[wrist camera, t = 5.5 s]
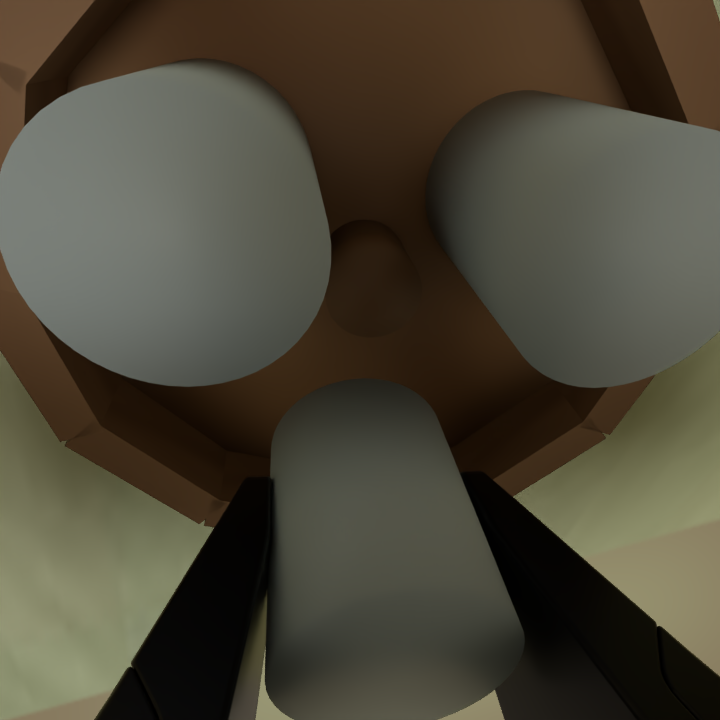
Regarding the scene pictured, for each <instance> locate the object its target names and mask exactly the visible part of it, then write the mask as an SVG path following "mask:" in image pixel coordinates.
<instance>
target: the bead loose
mask: <svg viewBox="0 0 720 720" xmlns="http://www.w3.org/2000/svg"><path fill="white" fill-rule="evenodd" d="M270 478H271V480H272V487H271V531H270V557H269V568H268V583H267V619H266V657H265V685H266V691H267V693H268V696H269V698H270V699H271V701H272V702H273V703H274V705H275V706H276V707H277V708H278V709H279V710H280V711H281V712H283V713H284V714H285V715H287V716H289V717H290V718H292V719H294V720H437V719H440V718H443V717H445V716H448V715H451V714H453V713H456V712H458V711H460V710H462V709H464V708H466V707H468V706H470V705H472V704H474V703H475V702H477V701H479V700H481V699H482V698H484V697H485V696H487V695H488V694H489V693H491V692H492V691H493V690H495V689H496V688H497V687H498V686H500V685H501V684H502V683H503V682H504V681H505V680H506V679H507V678H508V677H509V676H510V674H511V673H512V672H513V670H514V669H515V668H516V666H517V664H518V663H519V661H520V659H521V656H522V653H523V651H524V644H525V638H524V631H523V629H522V626H521V623H520V621H519V618H518V616H517V613H516V611H515V609H514V606H513V604H512V601H511V599H510V596H509V594H508V591H507V589H506V586H505V584H504V581H503V579H502V576H501V574H500V571H499V569H498V567H497V564H496V562H495V559H494V557H493V554H492V552H491V549H490V547H489V544H488V542H487V539H486V537H485V534H484V532H483V529H482V527H481V525H480V522H479V520H478V517H477V515H476V512H475V510H474V507H473V505H472V502H471V500H470V497H469V495H468V492H467V490H466V487H465V485H464V483H463V480H462V478H461V475H460V473H459V470H458V468H457V465H456V463H455V460H454V458H453V455H452V453H451V450H450V448H449V445H448V443H447V441H446V438H445V436H444V433H443V431H442V428H441V426H440V423H439V421H438V418H437V416H436V414H435V412H434V411H433V409H432V407H431V406H430V405H429V404H428V403H427V401H426V400H425V399H423V398H422V397H421V396H420V395H419V394H417V393H416V392H414V391H413V390H411V389H409V388H407V387H405V386H403V385H400V384H397V383H394V382H391V381H386V380H380V379H369V378H362V379H350V380H344V381H339V382H336V383H332V384H329V385H326V386H324V387H321V388H319V389H317V390H315V391H313V392H311V393H309V394H307V395H306V396H304V397H303V398H302V399H300V400H299V401H297V402H296V403H295V404H294V405H293V406H292V407H291V408H290V409H289V410H288V411H287V412H286V413H285V415H284V416H283V417H282V419H281V420H280V422H279V423H278V425H277V428H276V430H275V432H274V435H273V439H272V444H271V466H270Z"/></svg>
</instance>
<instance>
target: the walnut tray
mask: <svg viewBox="0 0 720 720" xmlns="http://www.w3.org/2000/svg"><path fill="white" fill-rule="evenodd" d="M194 58H207V59H216V60H222V61H226V62H229V63H233V64H236V65H239V66H241V67H243V68H245V69H247V70H249V71H252V72H253V73H255V74H256V75H258V76H260V77H261V78H263V79H264V80H266V81H267V82H268V83H269V84H270V85H272V86H273V87H274V88H275V89H276V90H277V91H278V92H279V93H280V94H281V95H282V96H283V97H284V98H285V99H286V100H287V102H288V103H289V105H290V106H291V107H292V109H293V110H294V111H295V113H296V115H297V117H298V118H299V120H300V122H301V124H302V126H303V129H304V131H305V133H306V136H307V139H308V143H309V146H310V150H311V154H312V158H313V162H314V167H315V171H316V175H317V179H318V183H319V187H320V192H321V196H322V200H323V204H324V208H325V213H326V217H327V221H328V226H329V233H330V240H331V268H330V275H329V282H328V286H327V289H326V293H325V296H324V299H323V302H322V304H321V306H320V309H319V311H318V313H317V315H316V317H315V318H314V320H313V322H312V323H311V325H310V327H309V328H308V330H307V331H306V332H305V333H304V335H303V336H302V337H301V338H300V339H299V341H298V342H297V343H296V344H295V345H294V346H293V347H292V348H291V349H289V350H288V351H287V352H286V353H285V354H284V355H283V356H281V357H280V358H278V359H277V360H276V361H274V362H273V363H271V364H270V365H268V366H266V367H264V368H262V369H261V370H259V371H257V372H255V373H252V374H250V375H247V376H245V377H242V378H240V379H236V380H232V381H229V382H225V383H220V384H214V385H207V386H191V387H183V386H167V385H160V384H154V383H148V382H144V381H140V380H137V379H133V378H129V377H127V376H124V375H121V374H118V373H116V372H113V371H111V370H109V369H106V368H104V367H102V366H100V365H98V364H96V363H94V362H92V361H91V360H89V359H87V358H86V357H84V356H83V355H81V354H79V353H78V352H76V351H75V350H73V349H72V348H71V347H69V346H68V345H67V344H65V343H64V342H63V341H62V340H60V339H59V338H58V337H57V336H56V335H55V334H54V333H53V332H51V331H50V330H49V329H48V328H47V327H46V326H45V325H44V324H43V323H42V322H41V320H40V319H39V318H38V317H37V316H36V315H35V313H34V312H33V311H32V310H31V309H30V308H29V306H28V305H27V303H26V302H25V300H24V299H23V297H22V296H21V294H20V293H19V291H18V290H17V288H16V286H15V284H14V282H13V280H12V278H11V276H10V274H9V272H8V270H7V267H6V264H5V262H4V259H3V256H2V253H1V250H0V351H1V352H2V354H3V355H4V357H5V358H6V360H7V361H8V363H9V364H10V366H11V367H12V369H13V370H14V372H15V373H16V375H17V377H18V378H19V380H20V381H21V383H22V384H23V386H24V387H25V389H26V390H27V392H28V393H29V395H30V396H31V398H32V399H33V401H34V402H35V404H36V405H37V407H38V409H39V410H40V412H41V413H42V415H43V416H44V418H45V419H46V421H47V422H48V424H49V425H50V427H51V428H52V430H53V431H54V433H55V434H56V436H57V438H58V439H59V441H60V442H61V441H66V440H67V442H66V444H65V446H66V447H68V448H69V449H71V450H73V451H75V452H76V453H78V454H80V455H82V456H83V457H85V458H87V459H88V460H90V461H92V462H94V463H95V464H97V465H99V466H100V467H102V468H104V469H106V470H107V471H109V472H111V473H112V474H114V475H116V476H118V477H119V478H121V479H123V480H124V481H126V482H128V483H130V484H131V485H133V486H135V487H136V488H138V489H140V490H142V491H143V492H145V493H147V494H149V495H150V496H152V497H154V498H155V499H157V500H159V501H161V502H162V503H164V504H166V505H167V506H169V507H171V508H173V509H174V510H176V511H178V512H179V513H181V514H183V515H185V516H186V517H188V518H190V519H191V520H193V521H195V522H197V523H198V524H200V523H201V522H203V521H204V520H205V524H204V526H210V527H215V526H216V524H217V523H218V521H219V519H220V518H221V516H222V514H223V513H224V511H225V510H226V508H227V506H228V505H229V503H230V502H231V500H232V498H233V497H234V495H235V493H236V492H237V490H238V489H239V487H240V485H241V484H242V482H243V481H244V479H245V478H247V477H249V476H269V477H270V466H271V444H272V439H273V435H274V432H275V430H276V428H277V425H278V423H279V422H280V420H281V419H282V417H283V416H284V415H285V413H286V412H287V411H288V410H289V409H290V408H291V407H292V406H293V405H294V404H295V403H296V402H297V401H299V400H300V399H302V398H303V397H304V396H306V395H307V394H309V393H311V392H313V391H315V390H317V389H319V388H321V387H324V386H326V385H329V384H332V383H336V382H339V381H344V380H350V379H362V378H369V379H380V380H386V381H391V382H394V383H397V384H400V385H403V386H405V387H407V388H409V389H411V390H413V391H414V392H416V393H417V394H419V395H420V396H421V397H422V398H423V399H425V400H426V401H427V403H428V404H429V405H430V406H431V407H432V409H433V411H434V412H435V414H436V416H437V418H438V421H439V423H440V426H441V428H442V431H443V433H444V436H445V438H446V441H447V443H448V445H449V448H450V450H451V453H452V455H453V458H454V460H455V463H456V465H457V468H458V470H459V473H460V472H463V471H482V472H484V473H486V474H487V475H488V476H489V477H490V478H492V479H493V480H494V481H495V482H496V483H497V484H499V485H500V486H501V487H502V488H503V489H504V490H505V491H507V492H508V493H509V494H510V495H511V496H512V497H513V496H514V495H516V494H518V493H519V492H521V491H522V490H524V489H526V488H527V487H529V486H530V485H532V484H534V483H535V482H537V481H538V480H540V479H542V478H543V477H545V476H546V475H548V474H550V473H551V472H553V471H554V470H556V469H558V468H559V467H561V466H562V465H564V464H566V463H567V462H569V461H570V460H572V459H574V458H575V457H577V456H578V455H580V454H582V453H583V452H585V451H586V450H588V449H590V448H591V447H593V446H595V445H596V444H598V443H599V442H601V441H603V440H604V439H606V438H605V436H604V435H603V434H602V433H605V434H609V435H610V434H611V433H612V431H613V430H614V429H615V428H616V426H617V425H618V424H619V422H620V421H621V420H622V418H623V417H624V416H625V414H626V413H627V412H628V410H629V409H630V408H631V406H632V405H633V404H634V402H635V401H636V400H637V398H638V397H639V396H640V395H641V393H642V392H643V391H644V389H645V388H646V387H647V385H648V384H649V383H650V381H651V380H652V379H653V377H654V376H655V375H656V374H655V375H653V376H650V377H647V378H645V379H642V380H639V381H635V382H632V383H628V384H624V385H618V386H612V387H601V388H588V387H577V386H572V385H567V384H564V383H561V382H558V381H555V380H553V379H551V378H549V377H547V376H545V375H543V374H542V373H540V372H539V371H538V370H536V369H535V368H534V367H532V366H531V365H530V364H529V362H528V361H527V360H526V359H525V358H524V357H523V356H522V355H521V353H520V352H519V351H518V349H517V348H516V346H515V345H514V344H513V342H512V341H511V340H510V338H509V337H508V336H507V334H506V333H505V332H504V330H503V329H502V328H501V326H500V325H499V324H498V322H497V321H496V320H495V318H494V317H493V316H492V314H491V313H490V312H489V310H488V309H487V308H486V306H485V305H484V304H483V302H482V301H481V299H480V298H479V297H478V295H477V294H476V293H475V291H474V290H473V289H472V287H471V286H470V285H469V283H468V282H467V281H466V279H465V278H464V277H463V275H462V274H461V273H460V271H459V270H458V269H457V267H456V266H455V265H454V263H453V262H452V261H451V259H450V258H449V257H448V255H447V254H446V252H445V251H444V250H443V248H442V247H441V246H440V244H439V243H438V241H437V240H436V238H435V236H434V234H433V232H432V230H431V228H430V224H429V221H428V218H427V212H426V201H425V193H426V183H427V178H428V174H429V170H430V167H431V164H432V161H433V159H434V156H435V154H436V152H437V150H438V148H439V146H440V145H441V143H442V142H443V140H444V138H445V137H446V135H447V134H448V133H449V132H450V130H451V129H452V128H453V127H454V125H455V124H456V123H457V122H458V121H459V120H460V119H461V118H462V117H463V116H465V115H466V114H467V113H468V112H470V111H471V110H472V109H474V108H475V107H476V106H478V105H480V104H481V103H483V102H485V101H487V100H489V99H491V98H493V97H496V96H498V95H501V94H505V93H508V92H513V91H521V90H536V91H542V92H547V93H552V94H556V95H561V96H565V97H570V98H574V99H578V100H583V101H587V102H592V103H596V104H601V105H605V106H610V107H614V108H619V109H623V110H628V111H632V112H637V113H641V114H646V115H650V116H655V117H659V118H664V119H668V120H673V121H677V122H682V123H686V124H691V125H695V126H699V127H704V128H708V129H713V130H717V131H719V132H720V21H719V18H718V15H717V12H716V9H715V6H714V3H713V0H0V172H1V168H2V164H3V162H4V160H5V158H6V156H7V154H8V151H9V149H10V147H11V145H12V143H13V142H14V141H15V139H16V138H17V136H18V135H19V133H20V132H21V131H22V129H23V128H24V126H25V125H26V124H27V123H28V122H29V121H30V120H31V119H32V118H33V117H34V116H35V115H36V114H37V113H38V112H39V111H40V110H42V109H43V108H45V107H46V106H48V105H49V104H50V103H52V102H53V101H55V100H56V99H58V98H59V97H61V96H63V95H65V94H67V93H70V92H72V91H74V90H76V89H78V88H80V87H83V86H87V85H90V84H94V83H97V82H101V81H104V80H108V79H112V78H115V77H119V76H123V75H127V74H131V73H134V72H138V71H142V70H146V69H150V68H153V67H157V66H161V65H165V64H169V63H172V62H176V61H180V60H186V59H194Z"/></svg>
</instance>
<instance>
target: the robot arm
mask: <svg viewBox="0 0 720 720" xmlns="http://www.w3.org/2000/svg"><path fill="white" fill-rule="evenodd" d="M460 475H461V478H462V480H463V483H464V485H465V487H466V490H467V492H468V495H469V497H470V500H471V502H472V505H473V507H474V510H475V512H476V515H477V517H478V520H479V522H480V525H481V527H482V529H483V532H484V534H485V537H486V539H487V542H488V544H489V547H490V549H491V552H492V554H493V557H494V559H495V562H496V564H497V567H498V569H499V571H500V574H501V576H502V579H503V581H504V584H505V586H506V589H507V591H508V594H509V596H510V599H511V601H512V604H513V606H514V609H515V611H516V613H517V616H518V618H519V621H520V623H521V626H522V629H523V631H524V638H525V644H524V651H523V653H522V656H521V659H520V661H519V663H518V664H517V666H516V668H515V669H514V670H513V672H512V673H511V674H510V676H509V677H508V678H507V679H506V680H505V681H504V682H503V683H502V684H501V685H500V686H498V687H497V688H496V689H495V691H496V694H497V697H498V700H499V703H500V707H501V710H502V713H503V716H504V719H505V720H720V676H719V675H717V674H716V673H715V672H714V671H713V670H712V669H710V668H709V667H708V666H706V664H704V663H703V662H702V661H701V660H700V659H698V658H697V657H696V656H695V655H694V654H693V653H691V652H690V651H689V650H688V649H687V648H685V647H684V646H683V645H682V644H681V643H680V642H679V641H677V640H676V639H675V638H674V637H673V636H672V635H671V634H669V633H668V632H667V631H666V630H665V629H663V628H662V627H661V626H657V625H656V622H655V621H654V620H653V619H652V618H651V617H650V616H648V615H647V614H646V613H645V612H644V611H643V610H642V609H640V608H639V607H638V606H637V605H636V604H635V603H634V602H632V601H631V600H630V599H629V598H628V597H627V596H626V595H624V594H623V593H622V592H621V591H620V590H619V589H618V588H616V587H615V586H614V585H613V584H612V583H611V582H610V581H608V580H607V579H606V578H605V577H604V576H603V575H602V574H600V573H599V572H598V571H597V570H596V569H594V567H592V566H591V565H590V564H589V563H588V562H587V561H586V560H584V559H583V558H582V557H581V556H580V555H579V554H578V553H576V552H575V551H574V550H573V549H572V548H571V547H569V546H568V545H567V544H566V543H565V542H564V541H563V540H561V539H560V538H559V537H558V536H557V535H556V534H555V533H553V532H552V531H551V530H550V529H549V528H548V527H547V526H545V525H544V524H543V523H542V522H541V521H540V520H539V519H537V518H536V517H535V516H534V515H533V514H532V513H531V512H529V511H528V510H527V509H526V508H525V507H524V506H523V505H521V504H520V503H519V502H518V501H517V500H516V499H515V498H513V497H512V496H511V495H510V494H509V493H508V492H507V491H505V490H504V489H503V488H502V487H501V486H500V485H499V484H497V483H496V482H495V481H494V480H493V479H492V478H490V477H489V476H488V475H487V474H486V473H484V472H482V471H463V472H460ZM271 487H272V480H271V478H270V477H269V476H249V477H247V478H245V479H244V481H243V482H242V484H241V485H240V487H239V489H238V490H237V492H236V493H235V495H234V497H233V498H232V500H231V502H230V503H229V505H228V506H227V508H226V510H225V511H224V513H223V514H222V516H221V518H220V519H219V521H218V523H217V524H216V526H215V527H214V529H213V531H212V532H211V534H210V535H209V537H208V539H207V540H206V542H205V544H204V545H203V547H202V548H201V550H200V552H199V553H198V555H197V556H196V558H195V560H194V561H193V563H192V565H191V566H190V568H189V569H188V571H187V573H186V574H185V576H184V577H183V579H182V581H181V582H180V584H179V586H178V587H177V589H176V590H175V592H174V594H173V595H172V597H171V598H170V600H169V602H168V603H167V605H166V607H165V608H164V610H163V611H162V613H161V615H160V616H159V618H158V619H157V621H156V623H155V624H154V626H153V628H152V629H151V631H150V632H149V634H148V636H147V637H146V639H145V640H144V642H143V644H142V645H141V647H140V649H139V650H138V652H137V653H136V655H135V657H134V658H133V660H132V662H131V666H132V667H128V668H127V669H126V671H125V672H124V674H123V675H122V677H121V679H120V680H119V682H118V684H117V685H116V687H115V688H114V690H113V692H112V693H111V695H110V697H109V698H108V700H107V701H106V703H105V704H104V706H103V707H102V709H101V710H100V712H99V713H98V715H97V716H96V718H95V719H94V720H255V718H256V710H257V704H258V696H259V689H260V682H261V674H262V666H263V659H264V652H265V645H266V619H267V583H268V568H269V557H270V531H271Z"/></svg>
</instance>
